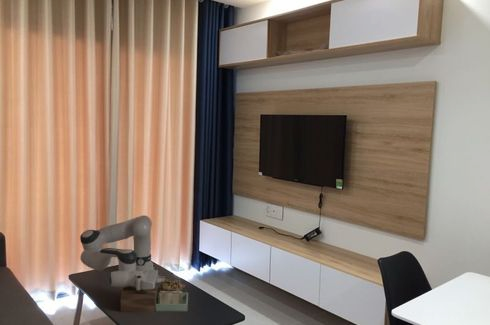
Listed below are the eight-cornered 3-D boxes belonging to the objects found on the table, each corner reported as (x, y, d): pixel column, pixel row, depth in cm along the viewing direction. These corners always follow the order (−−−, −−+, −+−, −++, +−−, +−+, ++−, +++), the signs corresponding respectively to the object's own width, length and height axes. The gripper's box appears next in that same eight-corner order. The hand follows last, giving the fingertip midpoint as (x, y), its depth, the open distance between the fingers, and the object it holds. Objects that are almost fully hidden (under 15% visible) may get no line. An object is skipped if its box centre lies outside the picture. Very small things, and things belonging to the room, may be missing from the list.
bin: (158, 299, 243) (158, 292, 242) (187, 299, 245) (188, 292, 244) (155, 311, 227) (155, 304, 227) (187, 311, 229) (187, 304, 229)
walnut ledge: (125, 299, 241) (125, 282, 240) (157, 299, 243) (157, 282, 242) (120, 311, 225) (120, 293, 224) (154, 311, 227) (155, 293, 226)
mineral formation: (160, 288, 258) (185, 286, 260) (159, 301, 246) (185, 299, 248) (159, 276, 256) (184, 275, 258) (158, 289, 243) (184, 287, 245)
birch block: (160, 291, 238) (182, 291, 240) (160, 301, 239) (181, 301, 240) (159, 294, 233) (181, 294, 235) (159, 305, 234) (181, 305, 235)
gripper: (141, 277, 242) (166, 277, 244) (136, 291, 222) (163, 291, 224) (142, 266, 242) (166, 267, 243) (136, 280, 222) (163, 280, 223)
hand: (164, 279), depth 233 cm, fingers closed
